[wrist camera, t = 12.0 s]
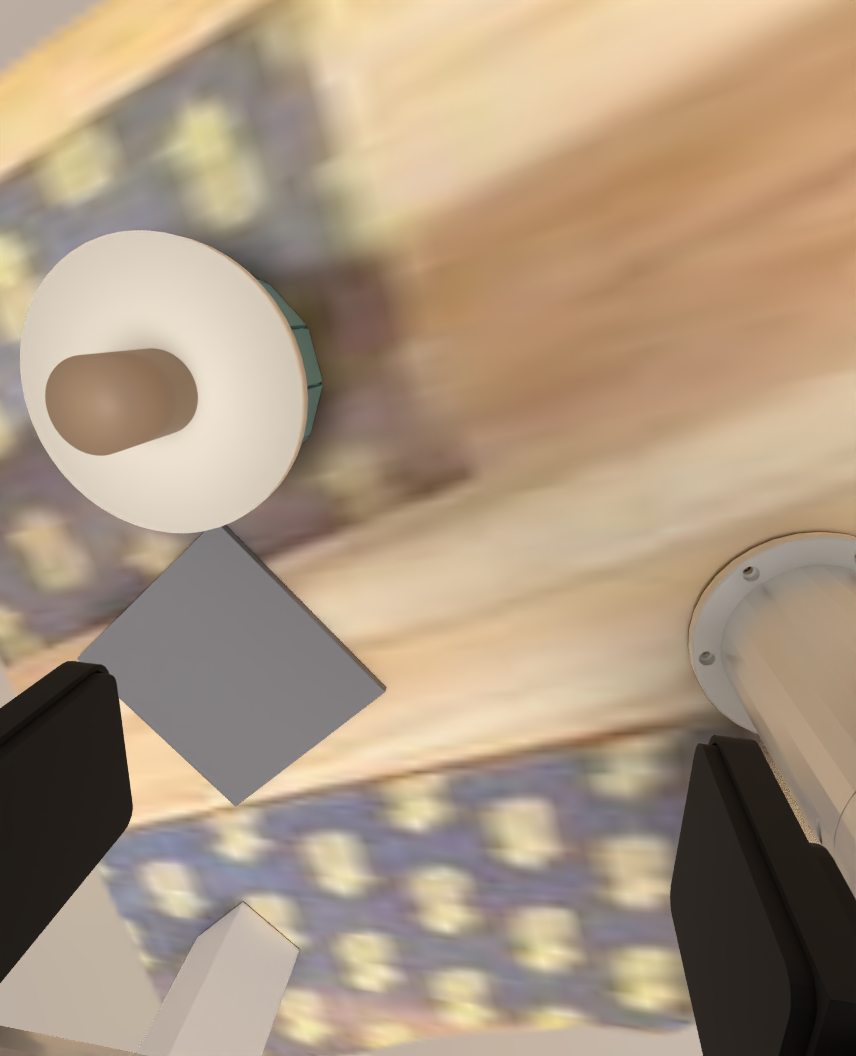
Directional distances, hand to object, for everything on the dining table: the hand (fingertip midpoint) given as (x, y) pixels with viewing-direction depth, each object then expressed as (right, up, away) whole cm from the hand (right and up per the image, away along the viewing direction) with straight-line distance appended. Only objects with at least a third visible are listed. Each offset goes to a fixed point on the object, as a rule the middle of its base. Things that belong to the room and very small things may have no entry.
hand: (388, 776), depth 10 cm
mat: (-13, -6, +33) cm, 36 cm away
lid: (-12, +11, +22) cm, 27 cm away
